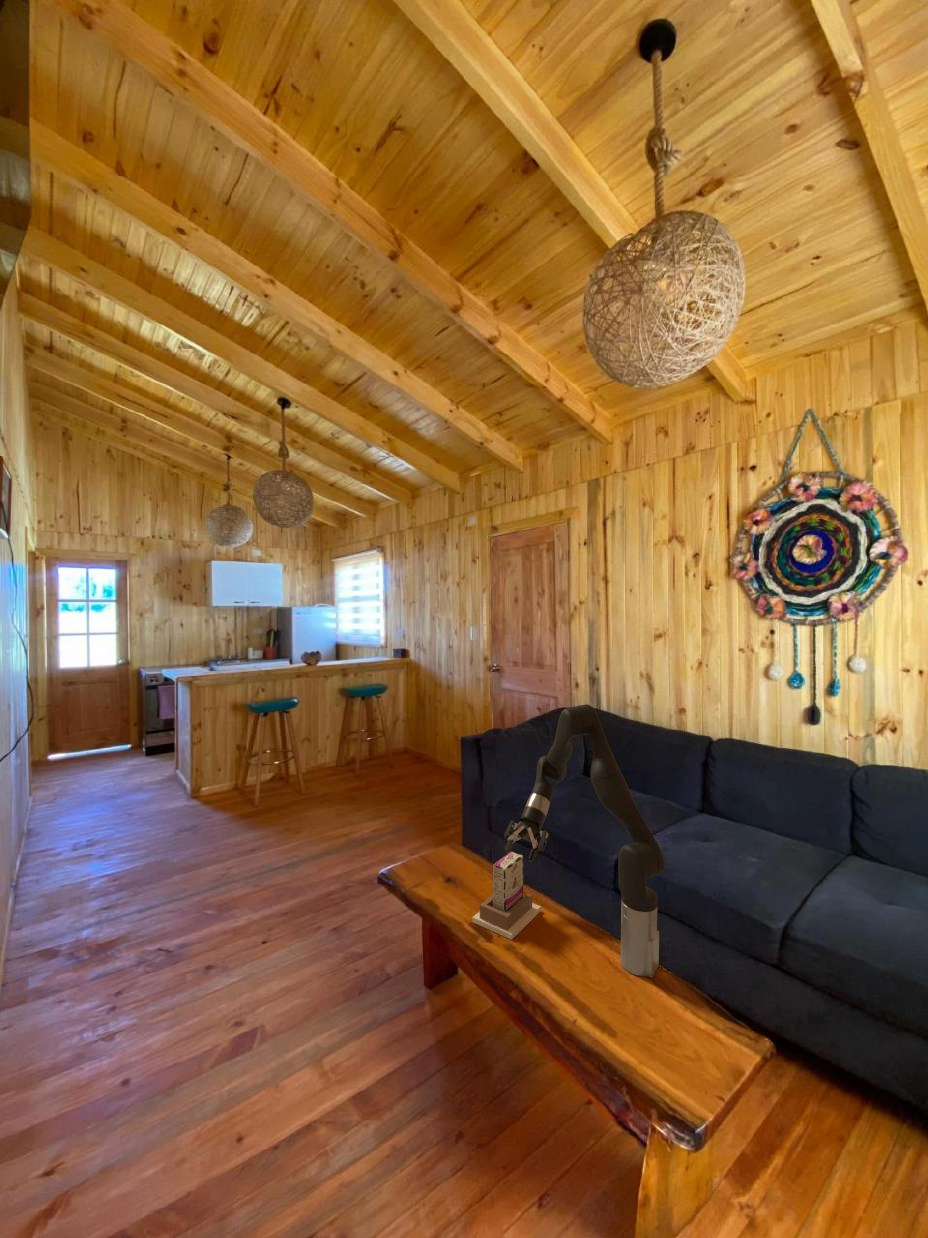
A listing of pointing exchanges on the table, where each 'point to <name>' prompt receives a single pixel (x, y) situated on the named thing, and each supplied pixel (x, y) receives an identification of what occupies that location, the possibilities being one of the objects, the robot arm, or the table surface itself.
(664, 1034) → the table surface
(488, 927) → the slot stand
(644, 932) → the robot arm
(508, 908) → the candy bar box
